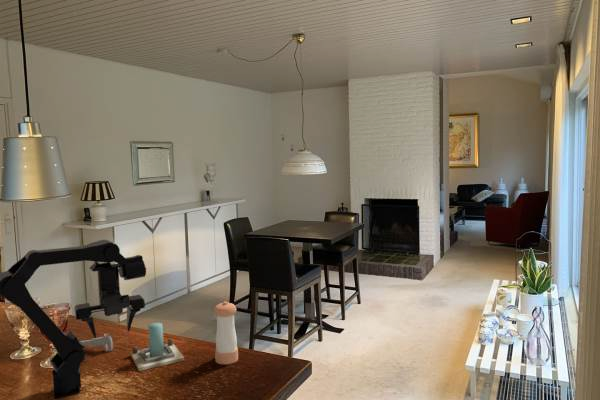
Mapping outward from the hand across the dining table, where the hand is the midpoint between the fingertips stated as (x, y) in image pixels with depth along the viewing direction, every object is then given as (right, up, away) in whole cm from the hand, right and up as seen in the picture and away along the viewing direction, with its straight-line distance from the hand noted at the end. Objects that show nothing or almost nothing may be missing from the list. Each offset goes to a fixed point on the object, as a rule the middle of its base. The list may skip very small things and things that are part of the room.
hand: (111, 334), depth 138 cm
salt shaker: (+32, -12, +12) cm, 36 cm away
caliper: (-18, -11, +21) cm, 30 cm away
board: (+9, -12, +14) cm, 20 cm away
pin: (+9, -10, +13) cm, 19 cm away
